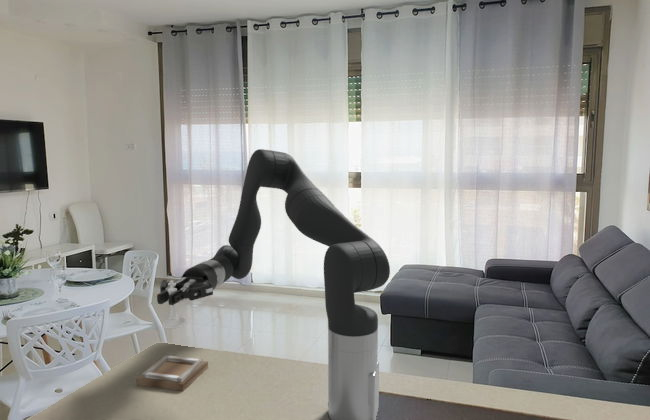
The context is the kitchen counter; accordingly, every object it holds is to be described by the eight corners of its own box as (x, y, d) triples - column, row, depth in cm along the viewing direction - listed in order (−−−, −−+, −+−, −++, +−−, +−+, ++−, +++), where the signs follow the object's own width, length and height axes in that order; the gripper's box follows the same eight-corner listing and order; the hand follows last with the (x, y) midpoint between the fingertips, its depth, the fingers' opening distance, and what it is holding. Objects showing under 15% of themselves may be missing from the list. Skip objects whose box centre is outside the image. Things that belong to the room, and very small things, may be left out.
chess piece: (178, 329, 103) (176, 284, 101) (157, 327, 104) (155, 283, 102) (189, 321, 108) (187, 278, 106) (169, 319, 109) (167, 276, 107)
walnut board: (208, 367, 111) (207, 358, 110) (183, 391, 100) (182, 380, 100) (165, 363, 113) (165, 353, 113) (137, 385, 103) (136, 374, 102)
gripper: (178, 261, 120) (135, 280, 103) (229, 264, 116) (193, 285, 100) (179, 290, 121) (137, 314, 104) (230, 294, 117) (194, 319, 101)
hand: (164, 300), depth 102 cm, fingers closed on chess piece
